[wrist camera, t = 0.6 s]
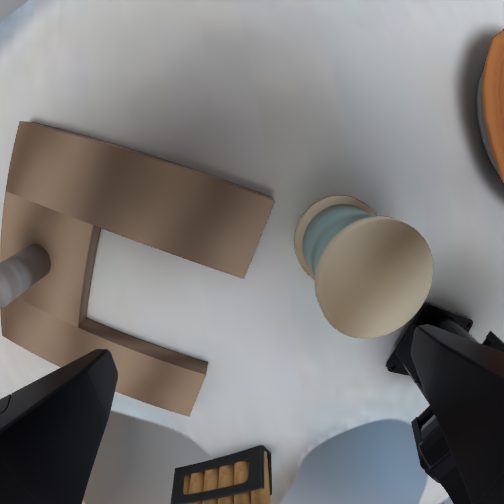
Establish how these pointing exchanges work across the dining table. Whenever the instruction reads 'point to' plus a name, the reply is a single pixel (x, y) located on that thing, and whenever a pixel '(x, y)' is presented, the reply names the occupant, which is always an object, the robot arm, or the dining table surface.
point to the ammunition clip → (226, 480)
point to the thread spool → (363, 266)
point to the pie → (493, 104)
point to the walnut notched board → (86, 239)
